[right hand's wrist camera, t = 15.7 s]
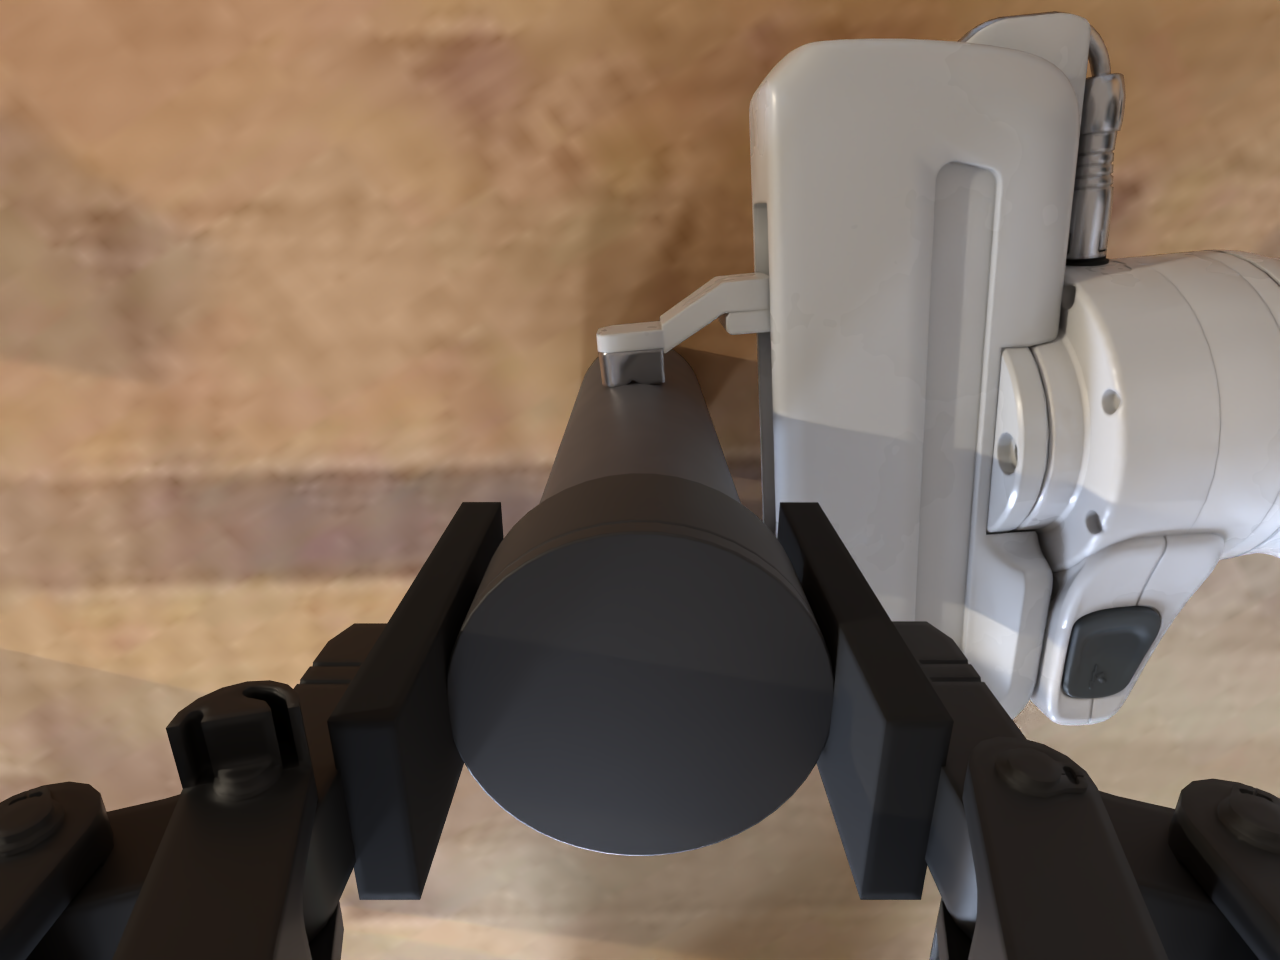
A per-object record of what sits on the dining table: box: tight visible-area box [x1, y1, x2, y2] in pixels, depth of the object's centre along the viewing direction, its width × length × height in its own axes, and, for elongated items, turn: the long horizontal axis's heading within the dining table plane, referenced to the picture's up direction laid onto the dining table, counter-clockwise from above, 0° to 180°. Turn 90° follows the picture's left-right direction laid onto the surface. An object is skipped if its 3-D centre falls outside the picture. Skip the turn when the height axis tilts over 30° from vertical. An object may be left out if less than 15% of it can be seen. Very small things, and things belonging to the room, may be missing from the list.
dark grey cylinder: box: [540, 349, 740, 503], centre depth 19 cm, size 5×5×18 cm
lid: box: [446, 473, 834, 856], centre depth 11 cm, size 6×6×2 cm
